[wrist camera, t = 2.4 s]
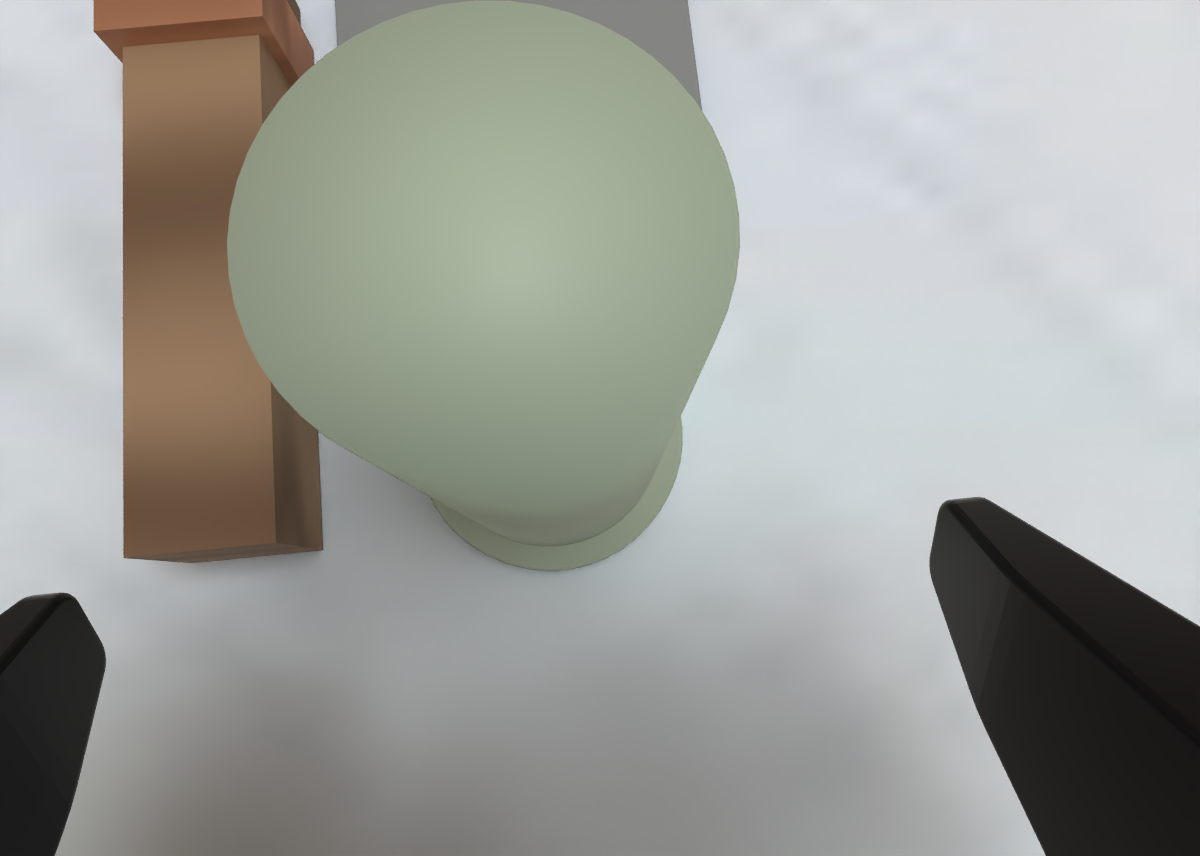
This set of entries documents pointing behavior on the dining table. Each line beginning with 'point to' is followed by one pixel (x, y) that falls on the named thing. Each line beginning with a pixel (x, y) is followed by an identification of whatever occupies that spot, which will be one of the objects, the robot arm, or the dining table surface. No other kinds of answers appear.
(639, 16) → the slate pad
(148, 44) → the post
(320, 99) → the sage green knob
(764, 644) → the dining table surface
